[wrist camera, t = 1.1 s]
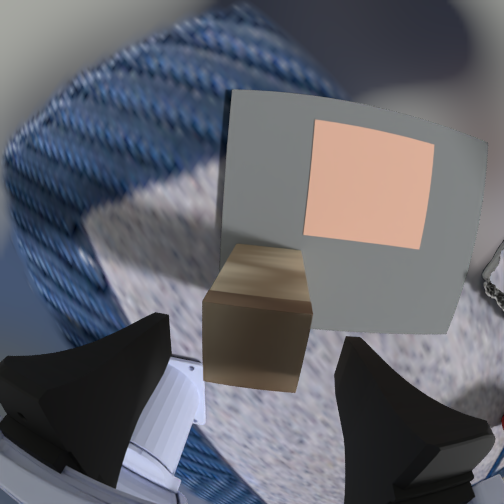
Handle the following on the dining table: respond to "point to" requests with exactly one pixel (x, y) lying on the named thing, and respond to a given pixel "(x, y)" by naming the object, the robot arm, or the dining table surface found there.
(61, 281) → the dining table surface
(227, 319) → the maple block
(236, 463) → the dining table surface
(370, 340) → the dining table surface
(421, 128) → the rubber mat
